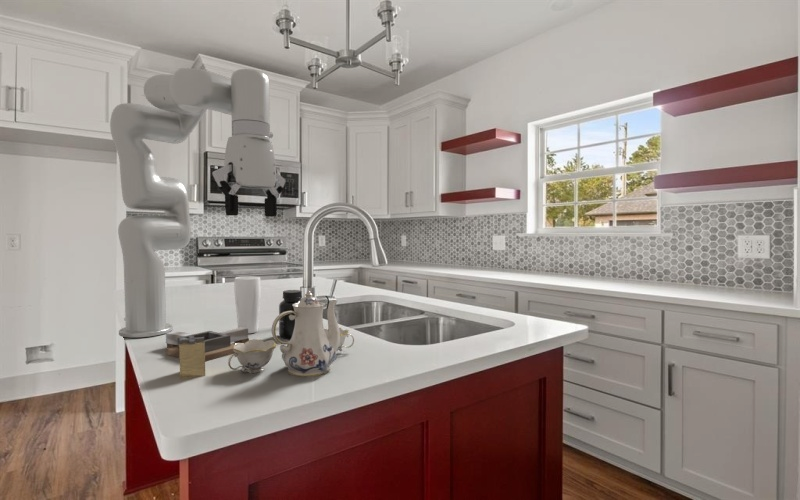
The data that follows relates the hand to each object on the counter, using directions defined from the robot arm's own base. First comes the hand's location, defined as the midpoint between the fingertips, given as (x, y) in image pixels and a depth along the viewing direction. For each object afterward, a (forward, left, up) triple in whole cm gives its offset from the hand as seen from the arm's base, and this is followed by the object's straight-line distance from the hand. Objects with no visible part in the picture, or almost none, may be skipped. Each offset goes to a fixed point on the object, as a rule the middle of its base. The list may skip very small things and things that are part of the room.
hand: (252, 215), depth 92 cm
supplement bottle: (-10, +20, -31) cm, 39 cm away
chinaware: (+10, +4, -32) cm, 33 cm away
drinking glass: (-23, +16, -31) cm, 42 cm away
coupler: (-4, -11, -31) cm, 34 cm away
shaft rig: (-18, +1, -31) cm, 36 cm away
